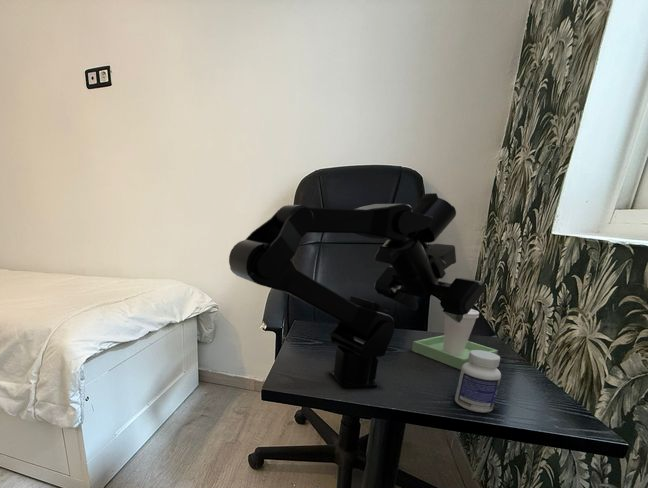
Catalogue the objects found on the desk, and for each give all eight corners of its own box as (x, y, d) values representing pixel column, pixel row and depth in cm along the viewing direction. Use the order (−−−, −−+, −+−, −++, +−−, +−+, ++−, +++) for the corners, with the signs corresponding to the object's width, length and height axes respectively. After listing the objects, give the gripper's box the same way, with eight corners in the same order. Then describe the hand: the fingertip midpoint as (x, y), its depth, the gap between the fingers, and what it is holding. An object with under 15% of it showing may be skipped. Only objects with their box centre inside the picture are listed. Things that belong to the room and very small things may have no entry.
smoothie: (475, 354, 78) (489, 291, 74) (461, 360, 74) (476, 294, 70) (444, 344, 83) (456, 285, 79) (430, 350, 79) (442, 288, 75)
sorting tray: (461, 370, 71) (463, 359, 71) (411, 350, 81) (413, 341, 80) (495, 360, 77) (498, 350, 76) (445, 343, 86) (447, 334, 86)
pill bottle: (499, 415, 55) (513, 362, 53) (462, 411, 56) (474, 359, 54) (483, 398, 60) (495, 349, 58) (449, 395, 61) (459, 347, 59)
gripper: (491, 232, 57) (511, 294, 65) (392, 226, 73) (418, 276, 81) (451, 284, 55) (476, 340, 63) (359, 266, 71) (389, 313, 79)
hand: (437, 314), depth 72 cm, fingers open, 9 cm apart
